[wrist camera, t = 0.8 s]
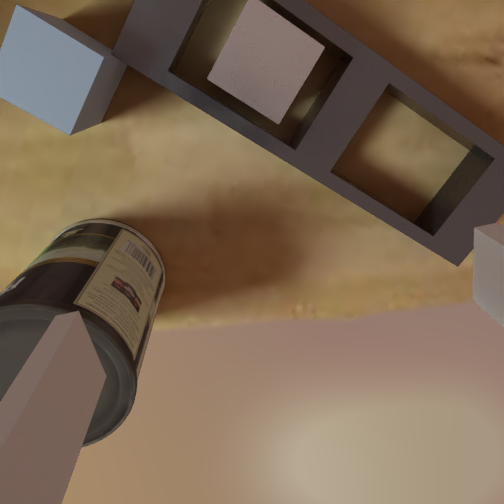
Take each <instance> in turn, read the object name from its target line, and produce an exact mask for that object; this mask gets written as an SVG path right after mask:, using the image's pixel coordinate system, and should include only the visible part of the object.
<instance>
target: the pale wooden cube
mask: <svg viewBox="0 0 504 504" xmlns="http://www.w3.org/2000/svg"><path fill="white" fill-rule="evenodd" d="M324 48H325V47H324V46H323V45H321V44H320V43H319V42H317V41H316V40H314V39H313V38H312V37H310V36H309V35H307V34H306V33H304V32H303V31H302V30H300V29H299V28H297V27H296V26H295V25H293V24H292V23H290V22H289V21H288V20H286V19H285V18H283V17H282V16H280V15H279V14H278V13H276V12H275V11H273V10H272V9H271V8H269V7H268V6H266V5H265V4H264V3H262V2H261V1H259V0H248V1H247V3H246V5H245V7H244V9H243V11H242V13H241V15H240V17H239V18H238V20H237V22H236V24H235V26H234V28H233V30H232V32H231V34H230V36H229V38H228V39H227V41H226V43H225V45H224V47H223V49H222V51H221V53H220V55H219V57H218V59H217V60H216V62H215V64H214V66H213V68H212V70H211V72H210V74H209V76H208V78H207V79H208V80H209V81H211V82H212V83H214V84H215V85H217V86H219V87H220V88H222V89H223V90H225V91H226V92H228V93H230V94H231V95H233V96H234V97H236V98H238V99H239V100H241V101H242V102H244V103H245V104H247V105H249V106H250V107H252V108H253V109H255V110H256V111H258V112H260V113H261V114H263V115H264V116H266V117H268V118H269V119H271V120H272V121H274V122H275V123H277V124H279V123H280V122H281V120H282V118H283V117H284V115H285V113H286V112H287V110H288V108H289V107H290V105H291V103H292V102H293V100H294V98H295V97H296V95H297V93H298V92H299V90H300V88H301V87H302V85H303V83H304V82H305V80H306V78H307V77H308V75H309V73H310V72H311V70H312V68H313V67H314V65H315V63H316V62H317V60H318V58H319V57H320V55H321V53H322V52H323V50H324Z"/></svg>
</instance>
